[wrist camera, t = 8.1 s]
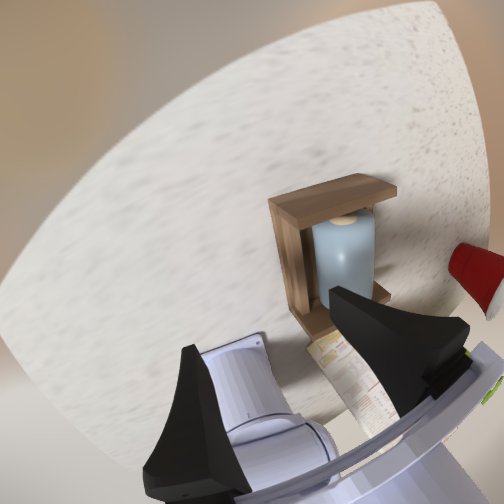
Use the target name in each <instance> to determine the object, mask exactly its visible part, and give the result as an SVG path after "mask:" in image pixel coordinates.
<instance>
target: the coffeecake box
mask: <svg viewBox="0 0 504 504" xmlns="http://www.w3.org/2000/svg"><path fill="white" fill-rule="evenodd" d="M307 350H308V352H309V353H310V355H311V356H312V357H313V359H314V360H315V362H316V363H317V365H318V366H319V367H320V369H321V370H322V372H323V373H324V375H325V376H326V377H327V379H328V380H329V382H330V383H331V384H332V386H333V387H334V389H335V390H336V392H337V393H338V395H339V396H340V397H341V399H342V400H343V402H344V403H345V405H346V406H347V407H348V409H349V410H350V412H351V413H352V414H353V416H354V417H355V419H356V420H357V421H358V423H359V424H360V426H361V427H362V428H363V430H364V431H365V433H366V434H367V436H368V437H369V438H370V439H371V438H372V437H374V436H376V435H377V434H379V433H380V432H382V431H383V430H385V429H386V428H388V427H389V426H391V425H392V424H394V423H395V422H396V421H398V420H399V419H400V418H399V416H398V413H397V411H396V410H395V408H394V406H393V404H392V402H391V400H390V398H389V397H388V395H387V393H386V392H385V390H384V388H383V387H382V385H381V383H380V382H379V380H378V379H377V377H376V376H375V374H374V373H373V371H372V370H371V368H370V367H369V365H368V364H367V363H366V362H365V360H364V359H363V358H362V357H361V356H360V355H359V354H358V352H357V351H356V350H355V349H354V348H353V347H352V346H351V345H350V343H349V342H348V341H347V340H346V339H345V338H344V337H343V336H342V334H341V333H340V332H339V331H338V330H336V331H334V332H332V333H330V334H328V335H326V336H324V337H322V338H320V339H318V340H316V341H314V342H313V343H312V344H310V345H309V346H308V347H307ZM457 428H458V426H457V427H456V428H455V429H454V430H453V431H452V432H451V433H450V434H449V435H448V436H447V437H446V438H445V439H444V440H442V441H441V442H442V443H444V442H445V441H446V440H447V439H448V438H449V437H450V436H451V435H452V434H453V433H454V432H455V431H456V430H457ZM408 430H409V429H408ZM408 430H407V431H408ZM407 431H406V432H407ZM406 432H404V433H406ZM404 433H403V434H404ZM403 434H402V435H400V436H399V437H397V438H396V439H395V440H393V441H392V442H390V443H389V444H387V445H386V446H384V447H383V448H381V449H380V450H378V451H379V452H380V454H382V453H384V452H386V451H387V450H389V449H390V448H392V447H393V446H395V445H396V444H397V443H398V442H399V441H400V440H401V438H402V437H403Z"/></svg>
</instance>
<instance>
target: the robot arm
mask: <svg viewBox="0 0 504 504" xmlns="http://www.w3.org/2000/svg"><path fill="white" fill-rule="evenodd" d="M328 291H329V310H330V319H331V320H332V322H333V323H334V325H335V326H336V328H337V329H338V331H339V332H340V333H341V334H342V336H343V337H344V338H345V339H346V340H347V341H348V342H349V343H350V345H351V346H352V347H353V348H354V349H355V350H356V351H357V352H358V354H359V355H360V356H361V357H362V358H363V359H364V360H365V362H366V363H367V364H368V365H369V367H370V368H371V370H372V371H373V373H374V374H375V376H376V377H377V379H378V380H379V382H380V383H381V385H382V387H383V388H384V390H385V392H386V393H387V395H388V397H389V398H390V400H391V402H392V404H393V406H394V408H395V410H396V411H397V413H398V416H399V418H400V419H399V420H398V421H396V422H395V423H394V424H392V425H391V426H389V427H388V428H386V429H385V430H383V431H382V432H380V433H379V434H377V435H376V436H374V437H372V438H371V439H369V440H368V441H366V442H364V443H363V444H361V445H359V446H358V447H356V448H354V449H352V450H351V451H349V452H347V453H345V454H343V455H341V456H340V457H339V453H338V449H337V447H336V444H335V442H334V440H333V438H332V436H331V435H330V433H329V432H328V431H327V429H326V428H325V427H324V426H322V425H321V424H319V423H317V422H315V421H314V420H306V421H304V419H303V417H302V415H301V414H300V413H297V414H293V412H292V410H291V408H290V406H289V405H288V403H287V401H286V399H285V397H284V395H283V393H282V391H281V390H280V388H279V386H278V384H277V382H276V380H275V378H274V376H273V373H272V369H271V366H270V363H269V359H268V356H267V353H266V349H265V346H264V343H263V339H262V337H261V335H260V334H255V335H252V336H250V337H247V338H245V339H242V340H240V341H237V342H234V343H232V344H229V345H226V346H224V347H221V348H218V349H216V350H213V351H210V352H207V353H204V354H201V355H200V353H199V351H198V349H197V348H196V346H195V344H192V345H189V346H186V347H183V348H182V351H181V362H180V370H179V376H178V381H177V387H176V391H175V395H174V400H173V403H172V407H171V410H170V413H169V416H168V419H167V422H166V424H165V427H164V430H163V432H162V434H161V436H160V438H159V440H158V442H157V444H156V447H155V449H154V450H153V452H152V454H151V456H150V457H149V459H148V460H147V462H146V464H145V465H144V467H143V482H144V487H145V493H146V495H147V496H149V497H151V498H154V499H157V500H160V501H164V502H165V504H491V503H490V502H489V501H488V499H487V498H486V497H485V496H484V494H483V493H482V492H481V490H480V489H479V488H478V487H477V485H476V484H475V483H474V482H473V480H472V479H471V478H470V476H469V475H468V474H467V473H466V472H465V470H464V469H463V468H462V467H461V465H460V464H459V463H458V462H457V460H456V459H455V458H454V457H453V455H452V454H451V453H450V452H449V451H448V450H447V448H446V447H445V446H444V445H443V443H442V442H441V441H442V440H444V439H445V438H446V437H447V436H448V435H449V434H450V433H451V432H452V431H453V430H454V429H455V428H456V427H457V426H458V425H459V424H460V423H461V422H462V421H463V420H464V419H465V418H466V417H467V416H468V415H469V414H470V413H471V412H472V411H473V410H474V408H475V407H476V406H477V405H478V404H479V403H480V402H481V400H482V399H483V398H484V397H485V396H486V395H487V393H488V392H489V391H490V390H491V388H492V387H493V386H494V385H495V383H496V382H497V381H498V379H499V378H500V377H501V375H502V374H503V372H504V360H503V359H502V358H501V357H500V356H498V355H497V354H496V353H495V352H494V351H493V350H492V349H491V348H490V347H488V346H487V345H486V344H485V343H484V342H483V341H481V342H480V343H479V344H478V345H477V346H476V347H475V348H474V349H473V351H472V352H471V353H470V354H469V356H467V355H466V354H465V353H466V349H465V348H464V347H463V345H464V343H465V341H466V339H467V337H468V334H469V331H470V325H468V324H467V323H466V322H465V321H464V320H462V319H461V318H460V317H438V316H428V315H421V314H415V313H410V312H406V311H402V310H398V309H395V308H392V307H389V306H386V305H383V304H380V303H378V302H375V301H373V300H370V299H368V298H366V297H363V296H361V295H359V294H357V293H354V292H352V291H350V290H348V289H346V288H343V287H341V286H339V285H338V286H336V287H333V288H331V289H329V290H328ZM258 341H259V342H258ZM408 429H409V430H408ZM407 430H408V431H407ZM406 431H407V432H406ZM404 432H406V433H404ZM403 433H404V434H403ZM402 434H403V437H402V438H401V440H400V441H399V442H398V443H397V444H396V445H395V446H393V447H392V448H390V449H389V450H387V451H386V452H384V453H382V454H381V455H379V456H378V457H376V458H375V459H373V460H371V461H370V462H368V463H366V464H365V465H363V466H362V467H360V468H358V469H356V470H355V471H353V472H351V473H349V474H347V475H346V476H344V477H342V478H341V476H340V472H342V471H344V470H346V469H348V468H349V467H351V466H353V465H355V464H357V463H358V462H360V461H362V460H364V459H365V458H367V457H369V456H370V455H372V454H373V453H375V452H377V451H378V450H380V449H381V448H383V447H384V446H386V445H387V444H389V443H390V442H392V441H393V440H395V439H396V438H397V437H399V436H400V435H402Z"/></svg>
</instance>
